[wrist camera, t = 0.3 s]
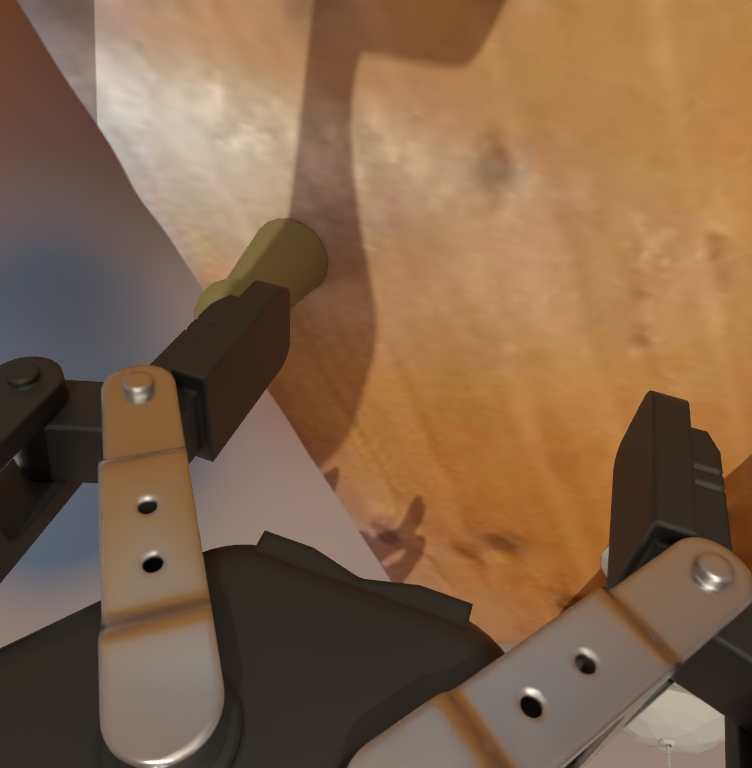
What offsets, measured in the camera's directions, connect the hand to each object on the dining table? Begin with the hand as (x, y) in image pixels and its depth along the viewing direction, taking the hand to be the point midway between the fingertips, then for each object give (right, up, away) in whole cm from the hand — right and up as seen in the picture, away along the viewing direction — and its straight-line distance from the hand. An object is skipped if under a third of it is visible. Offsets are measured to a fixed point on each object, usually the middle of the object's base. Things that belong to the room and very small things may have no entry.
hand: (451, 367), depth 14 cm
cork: (-8, +9, +34) cm, 37 cm away
